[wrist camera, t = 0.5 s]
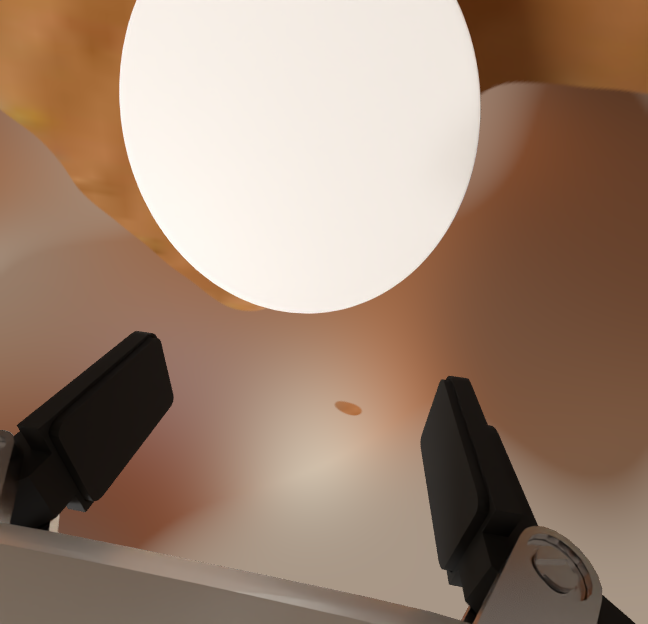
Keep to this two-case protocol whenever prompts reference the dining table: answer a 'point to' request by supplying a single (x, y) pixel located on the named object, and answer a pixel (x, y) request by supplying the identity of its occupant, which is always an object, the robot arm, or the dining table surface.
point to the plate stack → (301, 139)
